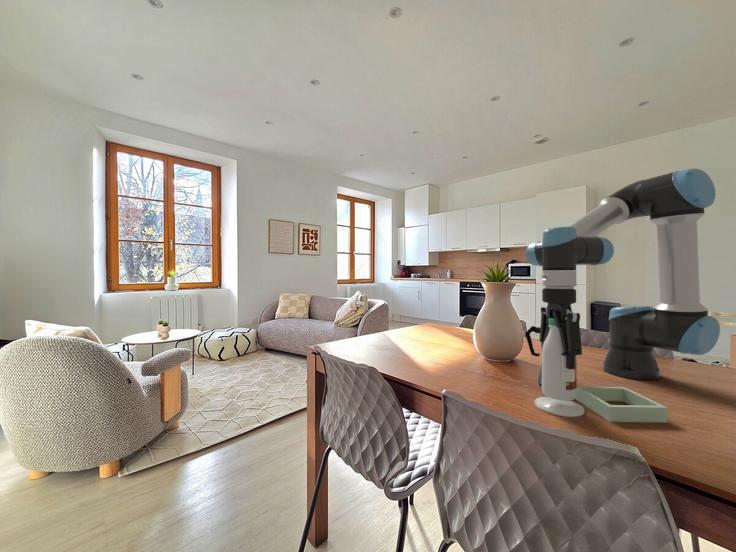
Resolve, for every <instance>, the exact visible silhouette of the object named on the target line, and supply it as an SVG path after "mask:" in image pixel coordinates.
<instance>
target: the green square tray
mask: <svg viewBox="0 0 736 552" xmlns="http://www.w3.org/2000/svg"><path fill="white" fill-rule="evenodd" d="M574 400H576V401H577V402H579V403H580V404H582V405H584V406H585V407H586V408H587V409H589V410H591V411H593V412H594V413H596V414H597V415H598V416H600V417H602V418H604V419H605V420H606V421H607V422H609V423H616V422H617V423H668V407H667V406H664V405H663V404H661V403H659V402H656V401H655V400H653V399H650V398H648V397H646V396H643V395H642V394H640V393H638V392H636V391H633V390H631V389H629V388H627V387H625V386H624V387H623V386H577V396H576V398H575V399H574ZM608 402H624V403H626V404H625V405H624V404H621V405H620V404H618V405H617V404H610V403H608Z"/></svg>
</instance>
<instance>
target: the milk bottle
mask: <svg viewBox="0 0 736 552" xmlns="http://www.w3.org/2000/svg"><path fill="white" fill-rule="evenodd" d="M561 324H566V323H561ZM549 327H550V330H549V334H548V336H547V338H546V340H545V342H544V344H543V348H542V347H541V364H542V385H541V392H542V394H543V395H544V396H545V397H550V398H553V399H558V400H566V401H569V400H570V401H574V400H576V399H575V398H576V396H577V387H578V386H577V385H578V382H577V380H578V378H577V377H578V376H577V375H578V373H577V368H578V367H577V366H578V365H577V364H578V363H577V362H578V361H577V355H576V356H575V382H563V381H562V355H561V353H564V350H563V346H562V341H561V336H560V332H559V328H557V327H556V322H555V319H554V318H549Z"/></svg>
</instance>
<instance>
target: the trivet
mask: <svg viewBox="0 0 736 552" xmlns="http://www.w3.org/2000/svg"><path fill="white" fill-rule="evenodd" d="M534 405H535V407H536V408H537V409H539V411H543V412H545V413H547V414H551V415H553V416H559V417H564V418H579V417H582V416H584V415H585V408H584V407H583V406H582V405H580V404H579V403H577V402H575V401H573V400H569V401H566V400H558V399H553V398H550V397H548V396H541V397H536V398H535V400H534Z"/></svg>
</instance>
